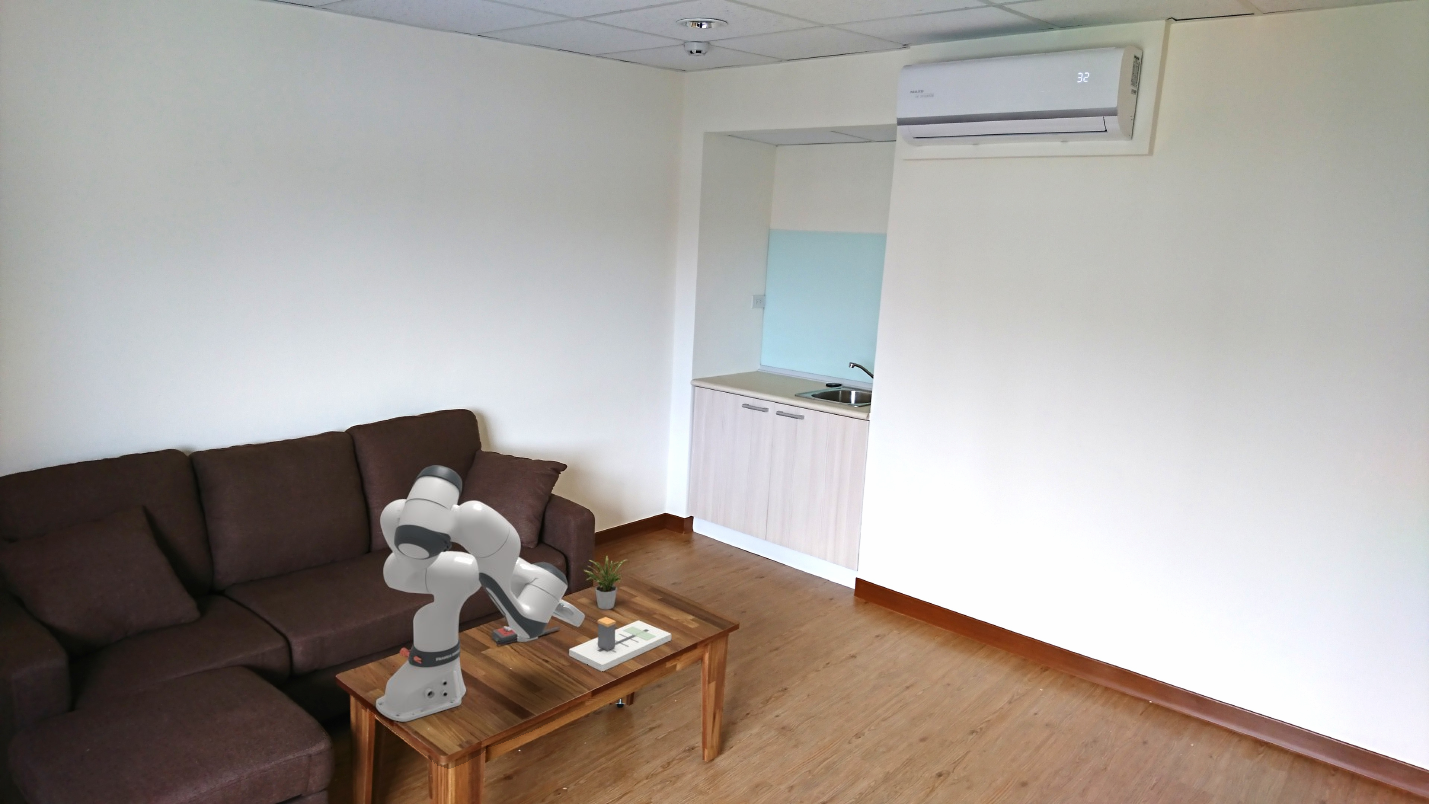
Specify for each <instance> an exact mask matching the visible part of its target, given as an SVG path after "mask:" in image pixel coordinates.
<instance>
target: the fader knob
mask: <svg viewBox="0 0 1429 804" xmlns="http://www.w3.org/2000/svg"><path fill="white" fill-rule="evenodd" d="M616 624H617V621H616V620H614V619H611V618H609V617H607V616H604V617H602V618H600V619H597V637H598V647H600V648H602V649H604V650H607V651H608V650H610V649H613V648H615V630H616Z"/></svg>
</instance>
